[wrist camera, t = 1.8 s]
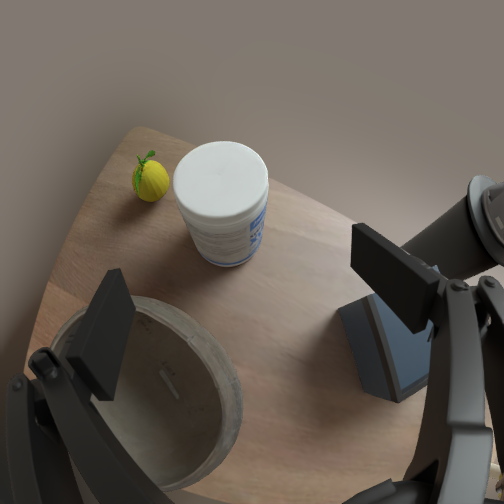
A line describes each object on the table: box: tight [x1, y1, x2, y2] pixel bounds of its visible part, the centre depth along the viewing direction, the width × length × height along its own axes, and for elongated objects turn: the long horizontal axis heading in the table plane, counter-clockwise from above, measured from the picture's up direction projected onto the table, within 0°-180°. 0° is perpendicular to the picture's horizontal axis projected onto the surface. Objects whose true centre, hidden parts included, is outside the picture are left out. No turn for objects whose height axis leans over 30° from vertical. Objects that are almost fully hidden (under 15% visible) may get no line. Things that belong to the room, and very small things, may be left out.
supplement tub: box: [173, 141, 268, 267], centre depth 32 cm, size 10×10×15 cm
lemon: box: [132, 150, 169, 202], centre depth 36 cm, size 7×6×10 cm
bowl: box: [50, 295, 243, 492], centre depth 24 cm, size 21×21×15 cm
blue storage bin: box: [338, 265, 440, 403], centre depth 30 cm, size 13×13×10 cm
